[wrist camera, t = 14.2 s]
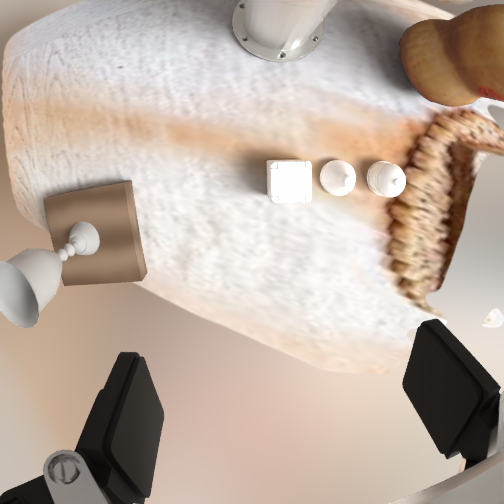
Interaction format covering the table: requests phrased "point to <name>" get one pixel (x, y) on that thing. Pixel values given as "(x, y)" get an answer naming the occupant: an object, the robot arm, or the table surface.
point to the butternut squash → (457, 56)
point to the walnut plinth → (109, 230)
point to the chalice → (39, 275)
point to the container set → (328, 179)
